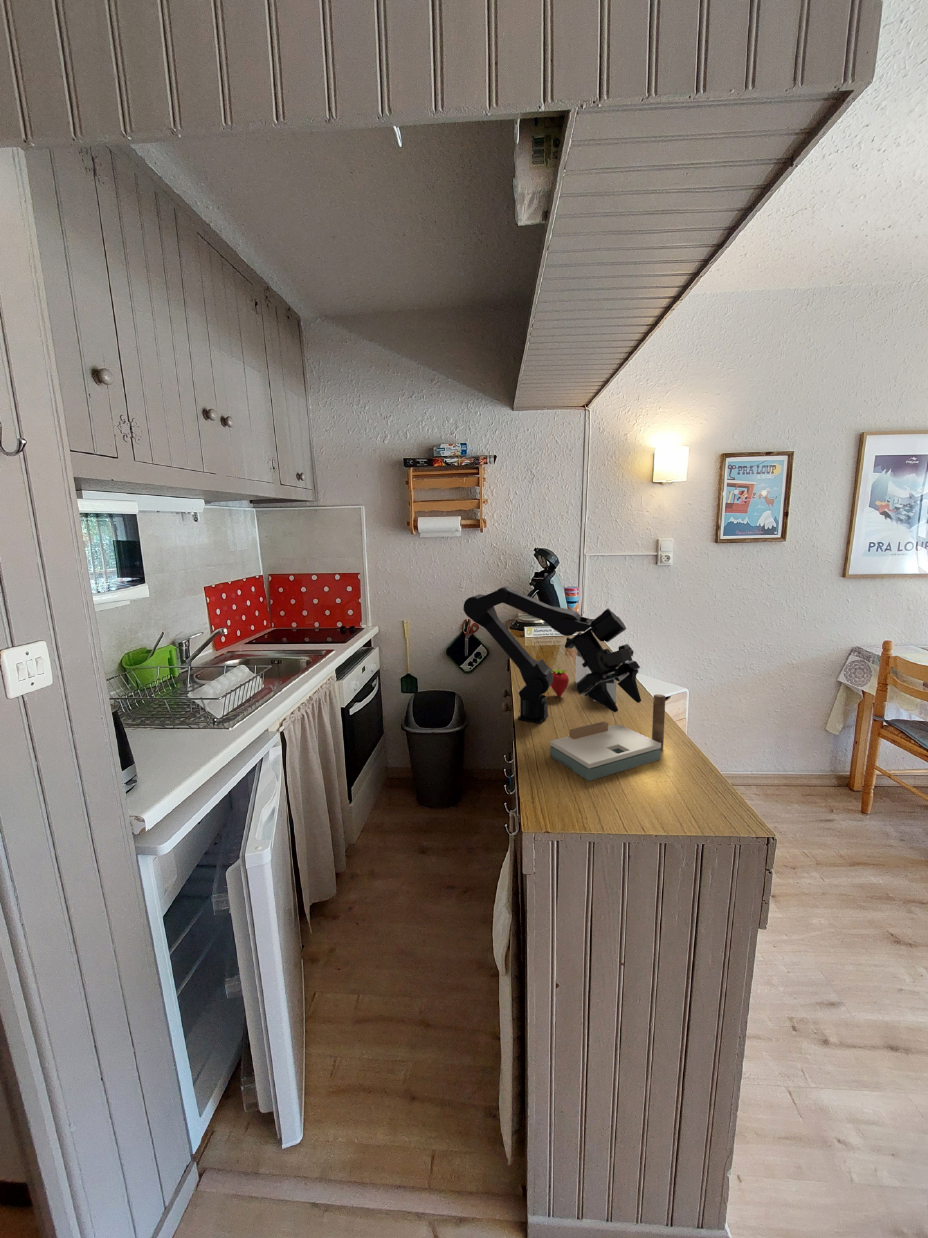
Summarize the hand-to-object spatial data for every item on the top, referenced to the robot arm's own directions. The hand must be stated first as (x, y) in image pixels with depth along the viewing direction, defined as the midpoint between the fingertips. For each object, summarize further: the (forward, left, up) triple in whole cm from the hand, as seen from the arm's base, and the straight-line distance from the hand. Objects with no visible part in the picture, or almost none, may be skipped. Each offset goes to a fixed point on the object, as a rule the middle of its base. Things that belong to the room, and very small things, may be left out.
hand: (628, 706), depth 119 cm
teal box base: (-2, -13, -8) cm, 15 cm away
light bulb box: (-13, +28, -8) cm, 32 cm away
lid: (-2, -13, -5) cm, 14 cm away
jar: (-21, +40, -8) cm, 46 cm away
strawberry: (-25, +22, -8) cm, 35 cm away
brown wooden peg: (+7, -2, -8) cm, 11 cm away
